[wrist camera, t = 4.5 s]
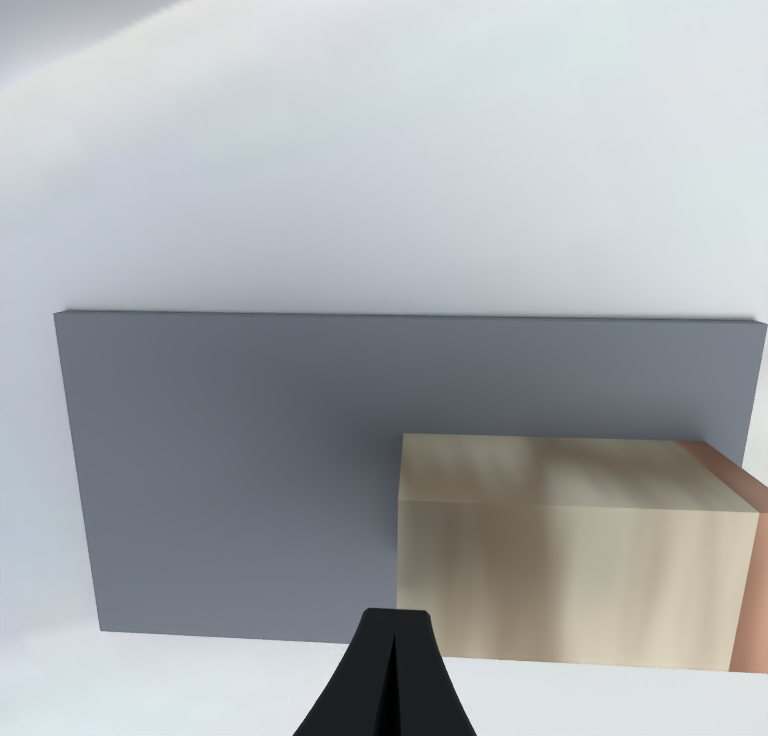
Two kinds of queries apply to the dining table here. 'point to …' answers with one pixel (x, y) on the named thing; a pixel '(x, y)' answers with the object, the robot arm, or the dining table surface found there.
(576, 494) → the maple block
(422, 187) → the dining table surface
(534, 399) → the rubber mat
